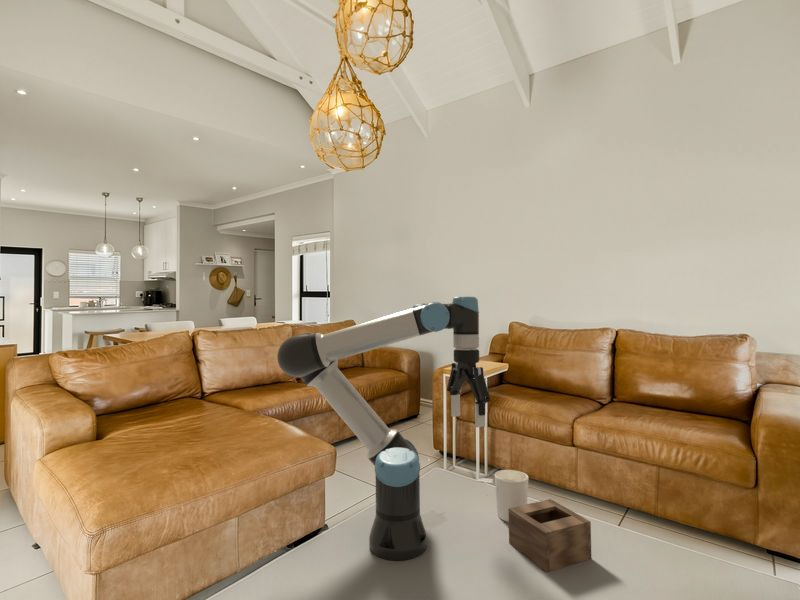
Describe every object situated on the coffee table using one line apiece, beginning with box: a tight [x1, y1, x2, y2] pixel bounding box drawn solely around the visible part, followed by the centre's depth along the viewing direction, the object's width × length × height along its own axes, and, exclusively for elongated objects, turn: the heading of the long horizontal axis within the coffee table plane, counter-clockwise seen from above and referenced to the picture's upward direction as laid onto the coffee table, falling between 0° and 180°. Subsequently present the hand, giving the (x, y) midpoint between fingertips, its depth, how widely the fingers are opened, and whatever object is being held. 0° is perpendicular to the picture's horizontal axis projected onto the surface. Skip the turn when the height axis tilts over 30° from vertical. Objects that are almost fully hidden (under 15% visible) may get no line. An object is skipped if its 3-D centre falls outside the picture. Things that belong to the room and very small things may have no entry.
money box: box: [508, 498, 593, 573], centre depth 110 cm, size 14×14×9 cm
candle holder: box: [494, 469, 529, 523], centre depth 129 cm, size 10×10×12 cm
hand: (467, 421), depth 127 cm, fingers open, 13 cm apart
